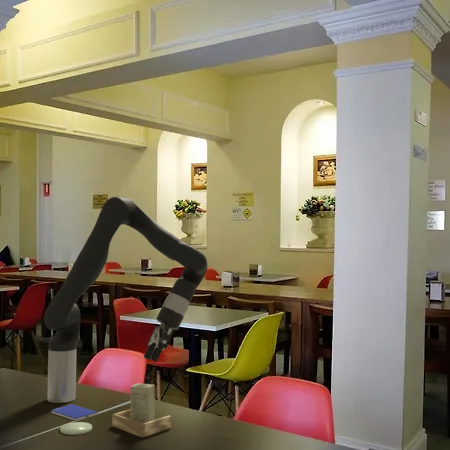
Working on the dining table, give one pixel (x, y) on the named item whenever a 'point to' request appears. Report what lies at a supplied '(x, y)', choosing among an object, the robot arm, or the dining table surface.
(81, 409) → the hard drive
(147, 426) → the holder
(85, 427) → the pale green round disc
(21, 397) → the dining table surface
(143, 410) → the skincare box
